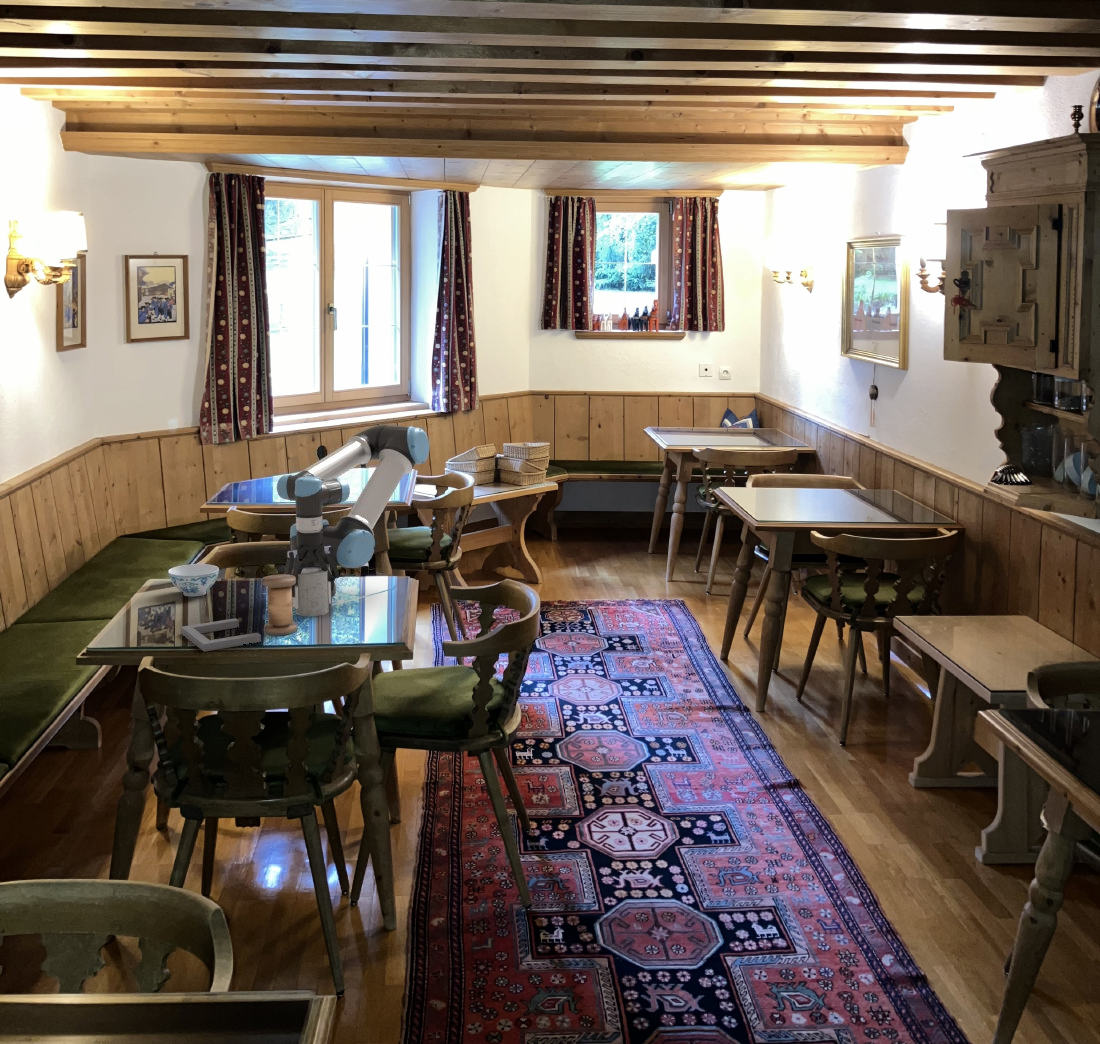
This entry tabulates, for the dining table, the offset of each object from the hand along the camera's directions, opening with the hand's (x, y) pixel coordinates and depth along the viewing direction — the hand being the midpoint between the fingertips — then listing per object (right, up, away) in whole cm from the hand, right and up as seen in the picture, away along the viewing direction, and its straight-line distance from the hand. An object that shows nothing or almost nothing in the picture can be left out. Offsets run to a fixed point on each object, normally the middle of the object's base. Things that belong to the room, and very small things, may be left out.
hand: (311, 604), depth 341 cm
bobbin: (-5, -6, -18) cm, 20 cm away
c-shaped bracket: (-20, -7, -26) cm, 33 cm away
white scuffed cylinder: (0, -2, 0) cm, 2 cm away
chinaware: (-40, +2, +19) cm, 45 cm away
